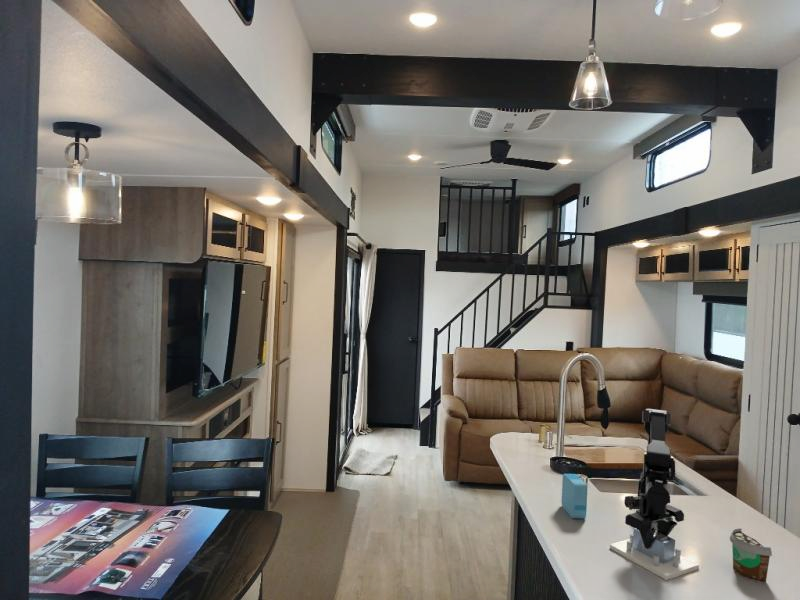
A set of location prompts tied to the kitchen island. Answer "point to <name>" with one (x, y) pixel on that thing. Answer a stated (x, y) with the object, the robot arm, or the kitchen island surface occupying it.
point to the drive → (655, 546)
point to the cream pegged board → (655, 560)
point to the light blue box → (574, 496)
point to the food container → (749, 556)
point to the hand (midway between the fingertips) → (653, 546)
